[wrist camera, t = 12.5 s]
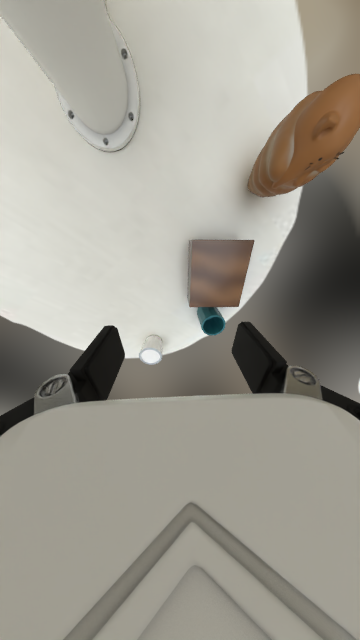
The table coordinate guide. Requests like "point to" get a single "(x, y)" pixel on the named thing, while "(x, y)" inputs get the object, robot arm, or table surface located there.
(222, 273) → the stand
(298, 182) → the brown ridged oblong lump
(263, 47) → the table surface
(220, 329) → the drinking cup
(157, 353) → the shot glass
